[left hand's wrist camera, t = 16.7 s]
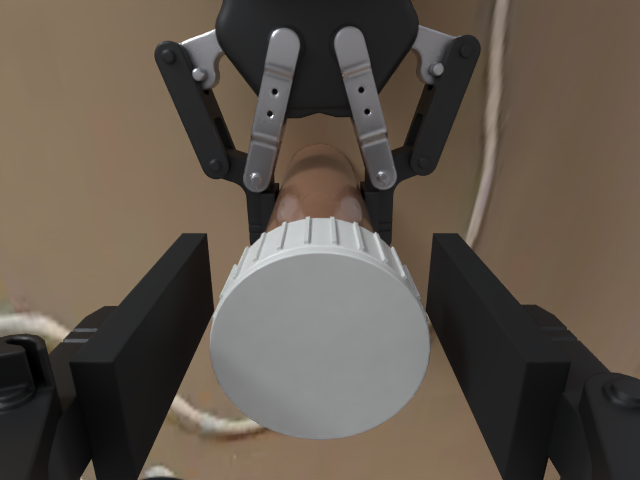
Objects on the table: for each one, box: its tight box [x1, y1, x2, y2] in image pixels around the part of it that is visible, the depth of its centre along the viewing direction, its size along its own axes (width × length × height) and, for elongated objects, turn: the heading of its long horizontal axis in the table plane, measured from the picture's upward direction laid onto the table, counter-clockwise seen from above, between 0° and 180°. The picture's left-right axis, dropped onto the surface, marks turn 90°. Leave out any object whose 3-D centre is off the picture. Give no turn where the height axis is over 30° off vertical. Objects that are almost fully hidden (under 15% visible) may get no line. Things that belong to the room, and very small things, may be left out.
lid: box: [209, 216, 431, 440], centre depth 11 cm, size 5×5×2 cm
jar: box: [265, 144, 375, 234], centre depth 19 cm, size 4×4×18 cm
